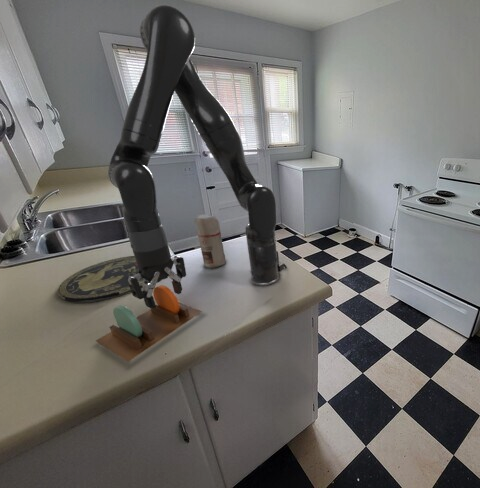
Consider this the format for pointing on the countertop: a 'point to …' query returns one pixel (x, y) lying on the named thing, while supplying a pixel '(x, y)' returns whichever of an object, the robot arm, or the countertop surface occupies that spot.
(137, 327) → the green disc
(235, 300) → the countertop surface
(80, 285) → the decorative plate
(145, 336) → the rack
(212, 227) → the spray can
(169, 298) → the orange disc
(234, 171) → the robot arm
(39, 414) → the countertop surface
